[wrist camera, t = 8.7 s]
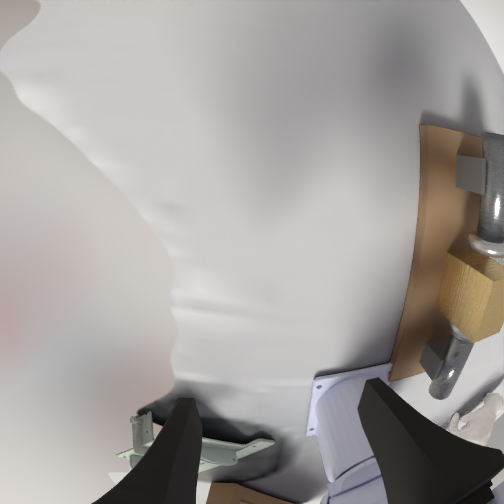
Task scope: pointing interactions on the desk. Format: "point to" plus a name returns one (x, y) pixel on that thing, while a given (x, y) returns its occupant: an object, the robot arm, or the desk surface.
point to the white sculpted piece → (478, 420)
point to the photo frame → (238, 495)
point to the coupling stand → (448, 247)
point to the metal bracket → (211, 450)
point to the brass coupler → (472, 293)
